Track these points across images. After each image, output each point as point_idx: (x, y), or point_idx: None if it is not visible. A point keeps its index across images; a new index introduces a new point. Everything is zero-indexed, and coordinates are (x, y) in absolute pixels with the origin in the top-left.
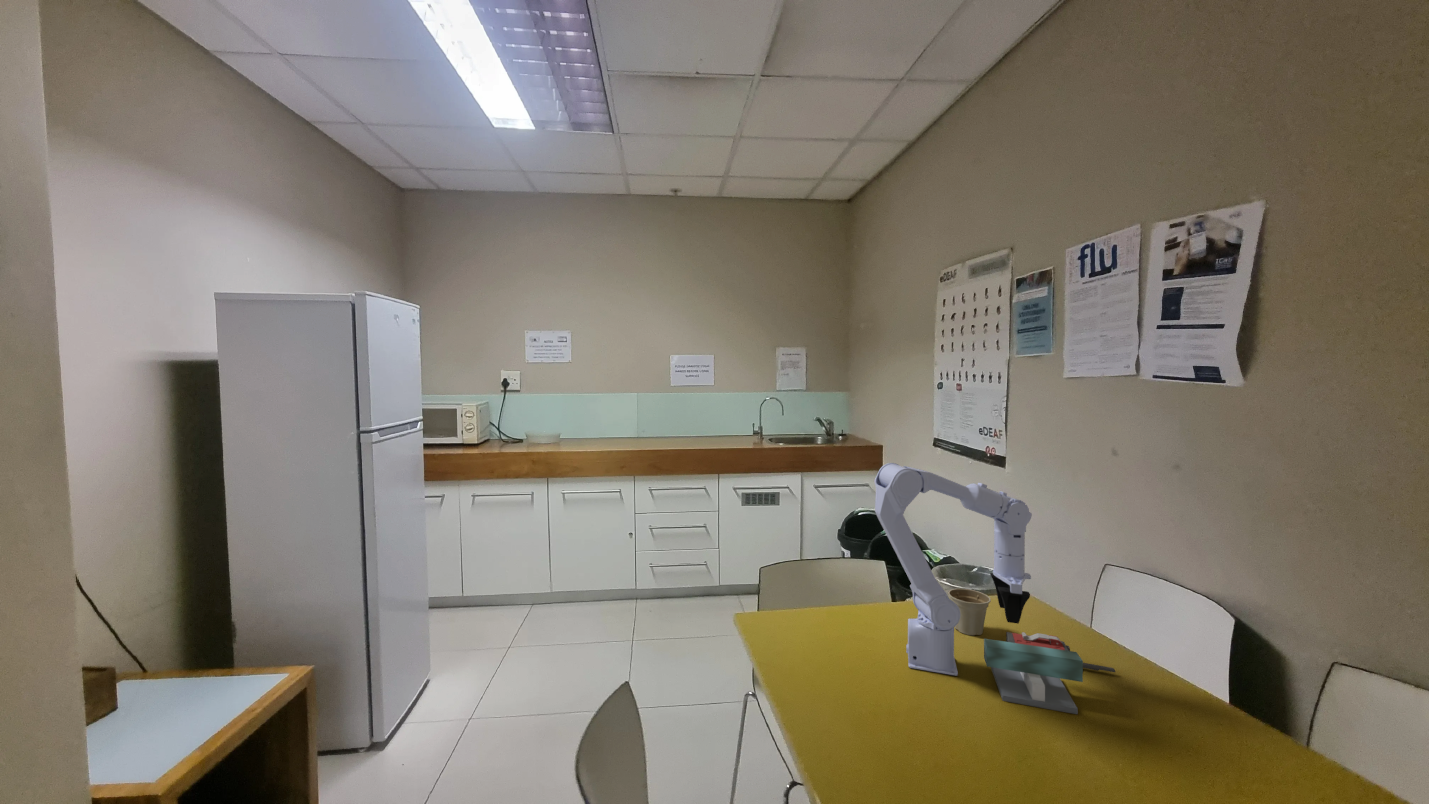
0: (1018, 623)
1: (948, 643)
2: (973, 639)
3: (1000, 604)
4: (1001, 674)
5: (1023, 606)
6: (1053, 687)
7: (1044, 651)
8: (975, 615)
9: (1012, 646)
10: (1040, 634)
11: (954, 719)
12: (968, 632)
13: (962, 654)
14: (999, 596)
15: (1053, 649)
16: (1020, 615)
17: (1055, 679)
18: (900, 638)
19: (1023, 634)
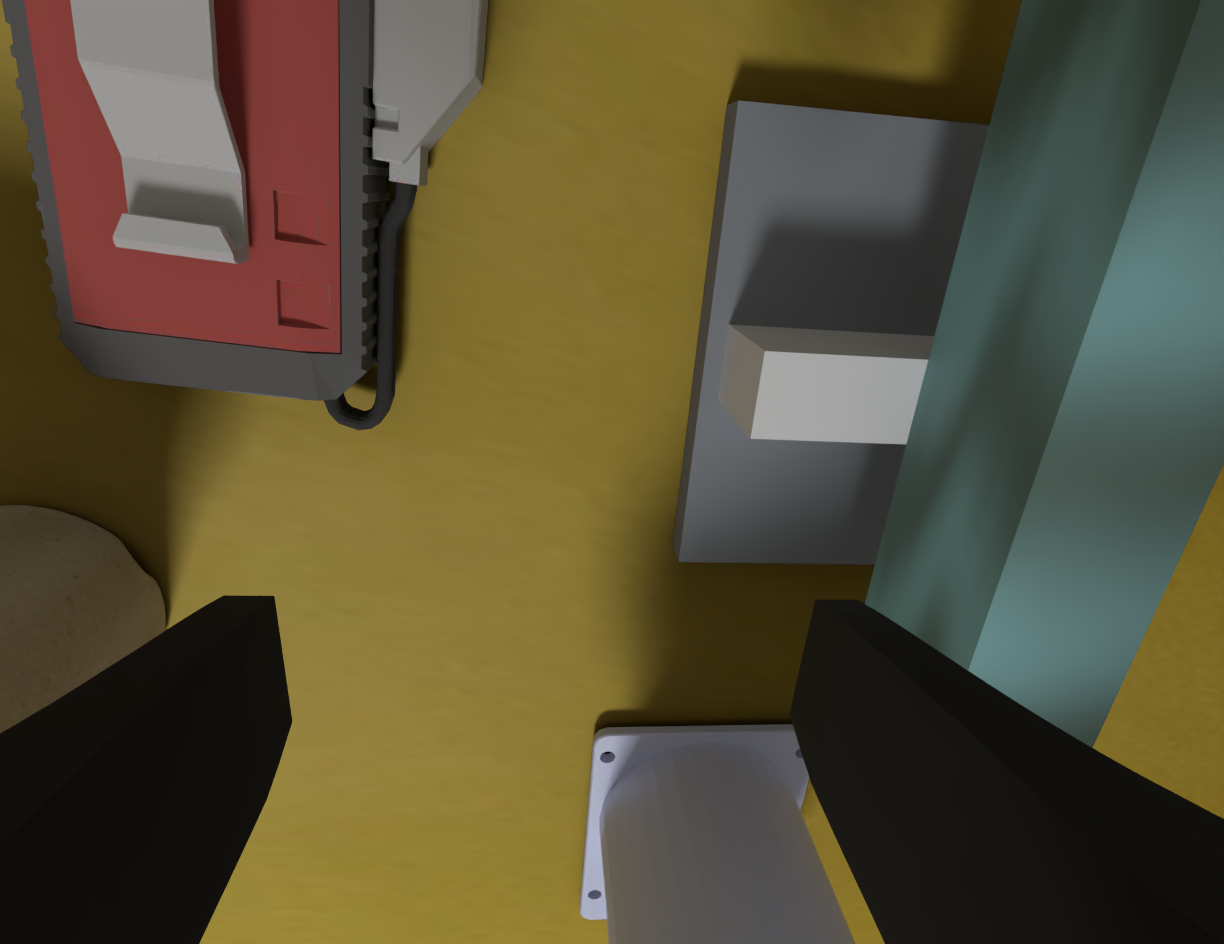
0: (857, 600)
1: (843, 922)
2: (231, 586)
3: (274, 764)
4: (812, 527)
5: (1199, 811)
6: (946, 220)
7: (1182, 350)
8: (61, 696)
9: (1068, 629)
10: (108, 32)
11: (1166, 755)
12: (158, 625)
13: (523, 675)
14: (198, 911)
15: (1150, 222)
16: (961, 672)
17: (824, 154)
18: (435, 936)
19: (187, 251)
